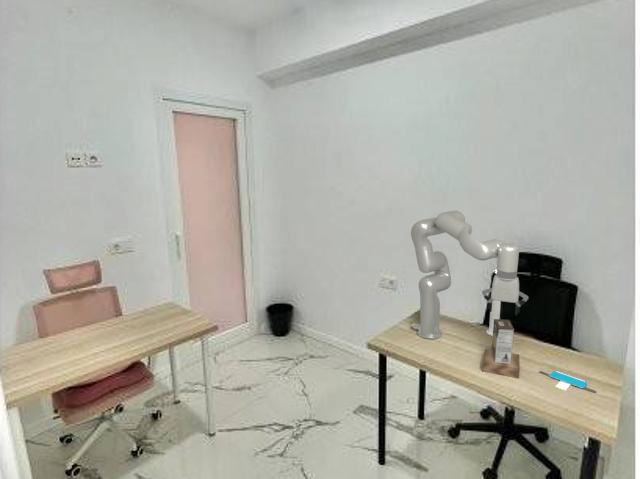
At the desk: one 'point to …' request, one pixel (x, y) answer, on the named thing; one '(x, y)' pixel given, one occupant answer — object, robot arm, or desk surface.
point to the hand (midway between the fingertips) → (503, 312)
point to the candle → (494, 316)
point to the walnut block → (501, 365)
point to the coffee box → (502, 341)
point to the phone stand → (567, 380)
